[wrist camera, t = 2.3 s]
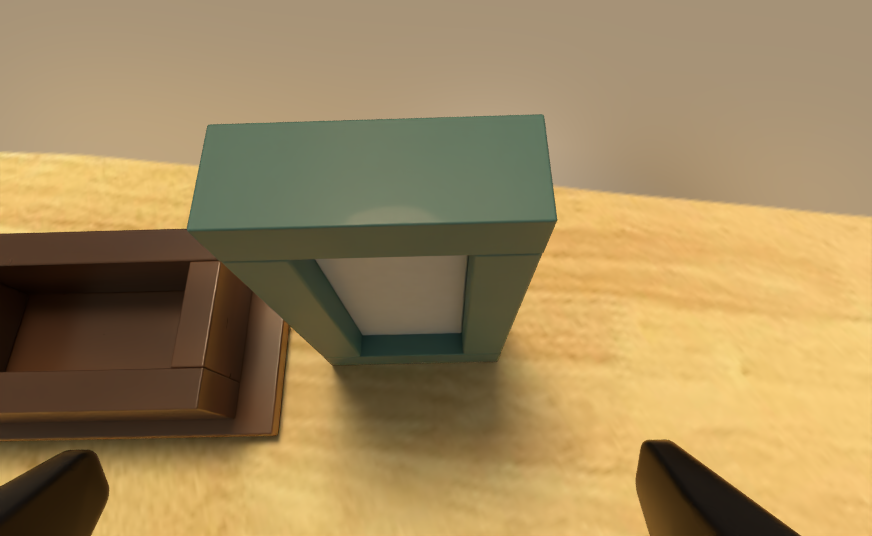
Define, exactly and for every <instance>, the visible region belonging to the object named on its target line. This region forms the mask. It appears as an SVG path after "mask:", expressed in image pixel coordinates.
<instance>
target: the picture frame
mask: <svg viewBox="0 0 872 536" xmlns="http://www.w3.org/2000/svg"><path fill="white" fill-rule="evenodd" d="M556 222H557V214H556V206H555V198H554V191H553V183H552V175H551V167H550V159H549V151H548V144H547V135H546V127H545V119H544V115H542V114H540V115H507V116H476V117H475V116H474V117H441V118H411V119H410V118H409V119H377V120H343V121H313V122H278V123H246V124H213V125H208V126H207V130H206V136H205V140H204V145H203V150H202V155H201V161H200V165H199V170H198V175H197V180H196V185H195V190H194V195H193V200H192V205H191V210H190V215H189V220H188V225H187V232H188V233H189V234H191V235H192V236H193V237H194V238H195V239H196V240H197V241H198V242H199V243H200V244H201V245H202V246H204V247H205V248H206V249H207V250H208V251H209V252H210V253H211V254H212V255H213V256H214V257H215V258H217V259H218V260H219V261H221V262H222V263H223V264H224V265H225V266H226V267H227V268H228V269H229V270H230V271H231V272H233V273H234V274H235V275H236V276H237V277H238V278H239V279H240V280H241V281H242V282H243V283H244V284H245V285H247V286H248V287H249V288H250V289H251V290H252V291H253V292H254V293H255V294H256V295H257V296H258V297H260V298H261V299H262V300H263V301H264V302H265V303H266V304H267V305H268V306H269V307H270V308H271V309H272V310H274V311H275V312H276V313H277V314H278V315H279V316H280V317H281V318H282V319H283V320H284V321H285V322H286V323H288V324H289V325H290V326H291V327H292V328H293V329H294V330H295V331H296V332H297V333H298V334H299V335H300V336H302V337H303V338H304V339H305V340H306V341H307V342H308V343H309V344H310V345H311V346H312V347H313V348H315V349H316V350H317V351H318V352H319V353H320V354H321V355H322V356H323V357H324V358H325V359H326V360H327V361H328V362H329V363H330V364H331V365H367V364H412V363H457V362H497V361H498V359H499V356H500V354H501V351H502V348H503V346H504V343H505V341H506V339H507V336H508V334H509V332H510V329H511V327H512V324H513V322H514V320H515V317H516V315H517V313H518V310H519V308H520V305H521V303H522V301H523V298H524V296H525V294H526V291H527V289H528V286H529V284H530V282H531V279H532V277H533V274H534V272H535V270H536V267H537V265H538V263H539V260H540V258H541V255H542V253H543V252H544V250H545V248H546V245H547V243H548V241H549V238H550V236H551V234H552V231H553V229H554V227H555V224H556Z"/></svg>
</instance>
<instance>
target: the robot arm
mask: <svg viewBox="0 0 872 536" xmlns="http://www.w3.org/2000/svg"><path fill="white" fill-rule="evenodd" d="M636 490H637V494H638V498H639V501H640V504H641V508H642V511H643V514H644V518H645V521H646V524H647V528H648V531H649V534H650V536H801V535H799V534H798V533H797V532H795V531H794V530H792V529H791V528H790V527H788V526H787V525H786V524H784V523H783V522H782V521H780V520H779V519H777V518H776V517H775V516H773V515H772V514H771V513H769V512H768V511H767V510H765V509H764V508H762V507H761V506H760V505H758V504H757V503H756V502H754V501H753V500H752V499H750V498H749V497H747V496H746V495H745V494H743V493H742V492H741V491H739V490H738V489H737V488H735V487H734V486H732V485H731V484H730V483H728V482H727V481H726V480H724V479H723V478H721V477H720V476H719V475H717V474H716V473H715V472H713V471H712V470H711V469H709V468H708V467H706V466H705V465H704V464H702V463H701V462H700V461H698V460H697V459H696V458H694V457H693V456H691V455H690V454H689V453H687V452H686V451H685V450H683V449H682V448H681V447H679V446H678V445H676V444H675V443H674V442H672V441H670V440H646V441H644V442H643V443H642V445H641V449H640V455H639V461H638V467H637V473H636ZM108 496H109V485H108V482H107V479H106V477H105V474H104V472H103V469H102V466H101V464H100V461H99V458H98V456H97V454H96V453H95V452H93V451H91V450H68V451H64V452H62V453H60V454H58V455H56V456H54V457H53V458H51V459H49V460H47V461H45V462H44V463H42V464H40V465H38V466H36V467H35V468H33V469H31V470H29V471H27V472H26V473H24V474H22V475H20V476H18V477H17V478H15V479H13V480H11V481H9V482H8V483H6V484H4V485H2V486H0V536H91V535H92V532H93V530H94V528H95V526H96V524H97V522H98V520H99V518H100V516H101V514H102V512H103V509H104V507H105V505H106V503H107V500H108Z"/></svg>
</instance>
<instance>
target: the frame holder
mask: <svg viewBox="0 0 872 536" xmlns="http://www.w3.org/2000/svg"><path fill="white" fill-rule="evenodd" d="M288 330H289V324H288V323H286V322H285V321H284V320H283V319H282V318H281V317H280V316H279V315H278V314H277V313H276V312H275V311H274V310H272V309H271V308H270V307H269V306H268V305H267V304H266V303H265V302H264V301H263V300H262V299H261V298H260V297H258V296H257V295H256V294H255V293H254V292H253V291H252V290H251V289H250V288H249V287H248V286H247V285H245V284H244V283H243V282H242V281H241V280H240V279H239V278H238V277H237V276H236V275H235V274H234V273H233V272H231V271H230V270H229V269H228V268H227V267H226V266H225V265H224V264H223V263H222V262H221V261H219V260H218V259H217V258H215V257H214V256H213V255H212V254H211V253H210V252H209V251H208V250H207V249H206V248H205V247H204V246H202V245H201V244H200V243H199V242H198V241H197V240H196V239H195V238H194V237H193V236H192V235H191V234H189V233H188V232H187V229H161V230H124V231H87V232H50V233H13V234H0V441H39V440H90V439H140V438H191V437H241V436H276V435H278V429H279V419H280V410H281V400H282V390H283V380H284V370H285V360H286V350H287V340H288Z"/></svg>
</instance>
